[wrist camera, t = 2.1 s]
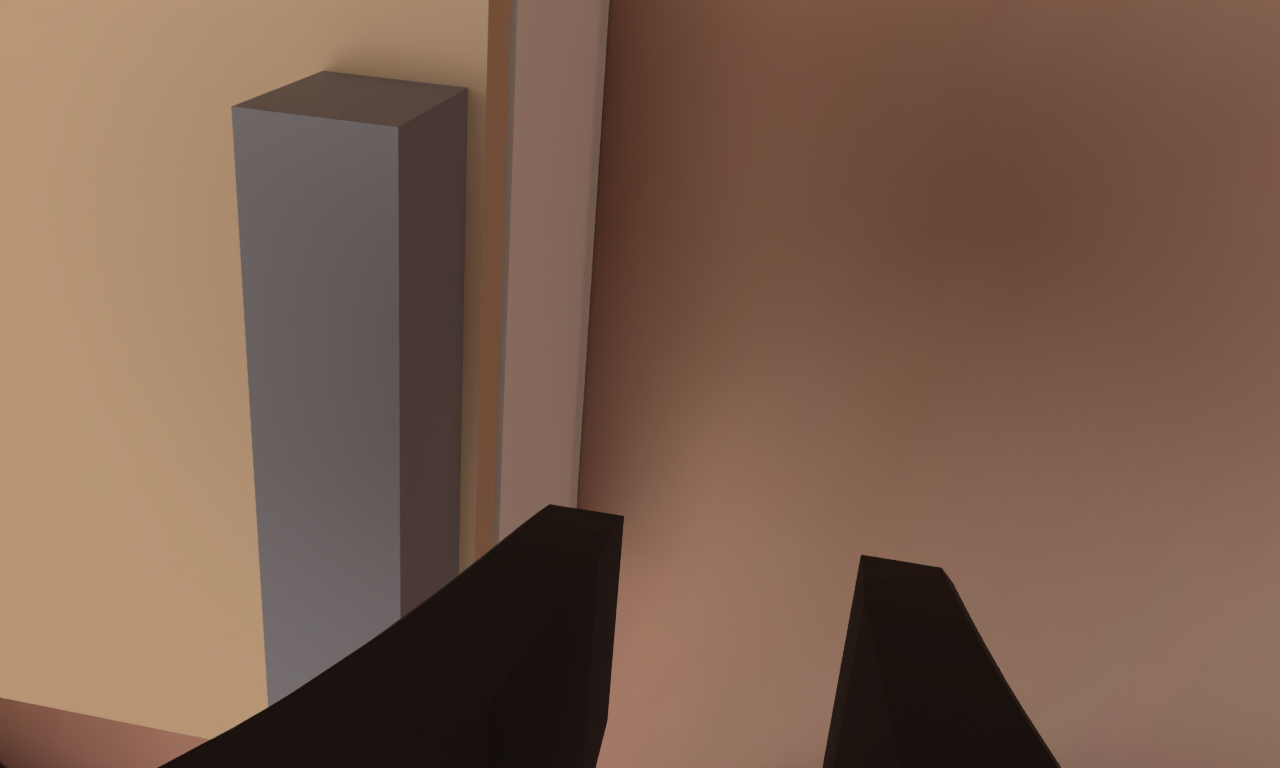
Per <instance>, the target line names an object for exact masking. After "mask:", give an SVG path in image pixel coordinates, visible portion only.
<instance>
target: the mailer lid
mask: <svg viewBox="0 0 1280 768" xmlns="http://www.w3.org/2000/svg"><path fill="white" fill-rule="evenodd" d="M510 3H511V0H0V698H5V699H10V700H15V701H20V702H25V703H30V704H35V705H40V706H45V707H50V708H55V709H60V710H65V711H70V712H75V713H80V714H85V715H90V716H95V717H100V718H105V719H110V720H115V721H120V722H125V723H130V724H135V725H140V726H145V727H150V728H155V729H160V730H165V731H170V732H175V733H180V734H185V735H190V736H195V737H200V738H205V739H210V740H211V739H213V738H214V737H216V736H218V735H220V734H222V733H224V732H226V731H228V730H229V729H231V728H233V727H235V726H236V725H238V724H240V723H242V722H243V721H245V720H247V719H249V718H250V717H252V716H254V715H256V714H257V713H259V712H261V711H263V710H264V709H266V708H268V707H269V706H271V705H273V704H274V703H276V702H278V701H279V700H281V699H283V698H284V697H286V696H287V695H289V694H290V693H292V692H293V691H295V690H296V689H298V688H299V687H301V686H303V685H304V684H306V683H307V682H309V681H310V680H312V679H313V678H315V677H316V676H318V675H319V674H321V673H322V672H324V671H325V670H327V669H328V668H330V667H331V666H333V665H334V664H336V663H337V662H339V661H340V660H342V659H343V658H345V657H346V656H348V655H349V654H351V653H352V652H354V651H355V650H357V649H358V648H360V647H361V646H363V645H364V644H366V643H367V642H369V641H370V640H372V639H373V638H375V637H376V636H377V635H379V634H380V633H382V632H383V631H384V630H386V629H387V628H388V627H390V626H391V625H392V624H394V623H395V622H397V621H398V620H399V619H401V618H402V617H403V616H405V615H406V614H407V613H409V612H410V611H411V610H413V609H414V608H415V607H417V606H418V605H419V604H421V603H422V602H423V601H425V600H426V599H427V598H429V597H430V596H431V595H433V594H434V593H436V592H437V591H438V590H440V589H441V588H442V587H444V586H445V585H446V584H448V583H449V582H450V581H451V580H453V579H454V578H455V577H456V576H458V575H459V574H460V573H462V572H463V571H464V570H465V569H467V568H468V567H469V566H470V565H472V564H473V563H474V562H476V561H477V560H478V559H479V558H481V557H482V556H483V555H484V554H486V553H487V552H488V551H489V550H491V549H492V548H493V528H494V497H495V466H496V435H497V404H498V373H499V342H500V312H501V281H502V250H503V219H504V188H505V157H506V126H507V95H508V64H509V34H510Z"/></svg>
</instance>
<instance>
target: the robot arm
mask: <svg viewBox="0 0 1280 768" xmlns="http://www.w3.org/2000/svg"><path fill="white" fill-rule="evenodd" d="M623 522H624V516H620V515H614V514H607V513H601V512H595V511H589V510H583V509H577V508H571V507H564V506H558V505H552V504H549V505H547V506H546V507H545V508H543V509H542V510H540V511H539V512H537V513H536V514H535V515H533V516H532V517H531V518H529V519H528V520H527V521H526V522H524V523H523V524H522V525H520V526H519V527H518V528H517V529H515V530H514V531H513V532H512V533H510V534H509V535H508V536H507V537H505V538H504V539H503V540H502V541H500V542H499V543H498V544H497V545H496V546H494V547H493V548H492V549H491V550H489V551H488V552H487V553H486V554H484V555H483V556H482V557H481V558H479V559H478V560H477V561H476V562H474V563H473V564H472V565H470V566H469V567H468V568H467V569H465V570H464V571H463V572H462V573H460V574H459V575H458V576H456V577H455V578H454V579H453V580H451V581H450V582H449V583H448V584H446V585H445V586H444V587H442V588H441V589H440V590H438V591H437V592H436V593H434V594H433V595H431V596H430V597H429V598H427V599H426V600H425V601H423V602H422V603H421V604H419V605H418V606H417V607H415V608H414V609H413V610H411V611H410V612H409V613H407V614H406V615H405V616H403V617H402V618H401V619H399V620H398V621H397V622H395V623H394V624H392V625H391V626H390V627H388V628H387V629H386V630H384V631H383V632H382V633H380V634H379V635H377V636H376V637H375V638H373V639H372V640H370V641H369V642H367V643H366V644H364V645H363V646H361V647H360V648H358V649H357V650H355V651H354V652H352V653H351V654H349V655H348V656H346V657H345V658H343V659H342V660H340V661H339V662H337V663H336V664H334V665H333V666H331V667H330V668H328V669H327V670H325V671H324V672H322V673H321V674H319V675H318V676H316V677H315V678H313V679H312V680H310V681H309V682H307V683H306V684H304V685H303V686H301V687H299V688H298V689H296V690H295V691H293V692H292V693H290V694H289V695H287V696H286V697H284V698H283V699H281V700H279V701H278V702H276V703H274V704H273V705H271V706H269V707H268V708H266V709H264V710H263V711H261V712H259V713H257V714H256V715H254V716H252V717H250V718H249V719H247V720H245V721H243V722H242V723H240V724H238V725H236V726H235V727H233V728H231V729H229V730H228V731H226V732H224V733H222V734H220V735H218V736H216V737H214V738H213V739H211V740H209V741H207V742H205V743H203V744H201V745H200V746H198V747H196V748H194V749H192V750H190V751H188V752H186V753H185V754H183V755H181V756H179V757H177V758H175V759H173V760H171V761H170V762H168V763H166V764H164V765H162V766H160V767H158V768H596V764H597V760H598V756H599V752H600V748H601V744H602V740H603V736H604V732H605V728H606V724H607V719H608V707H609V694H610V682H611V670H612V657H613V645H614V633H615V621H616V608H617V596H618V584H619V571H620V559H621V547H622V535H623ZM823 768H1061V767H1060V765H1059V764H1058V762H1057V761H1056V759H1055V757H1054V756H1053V754H1052V753H1051V751H1050V750H1049V748H1048V747H1047V745H1046V743H1045V742H1044V740H1043V739H1042V737H1041V736H1040V734H1039V733H1038V731H1037V730H1036V728H1035V726H1034V725H1033V723H1032V722H1031V720H1030V719H1029V717H1028V716H1027V714H1026V712H1025V711H1024V709H1023V708H1022V706H1021V704H1020V703H1019V701H1018V699H1017V698H1016V696H1015V695H1014V693H1013V691H1012V690H1011V688H1010V686H1009V685H1008V683H1007V681H1006V680H1005V678H1004V676H1003V674H1002V673H1001V671H1000V669H999V667H998V666H997V664H996V662H995V660H994V659H993V657H992V655H991V653H990V652H989V650H988V648H987V646H986V645H985V643H984V641H983V639H982V637H981V636H980V634H979V632H978V630H977V628H976V626H975V625H974V623H973V621H972V619H971V617H970V615H969V613H968V611H967V609H966V608H965V606H964V604H963V602H962V600H961V598H960V596H959V594H958V592H957V590H956V588H955V586H954V584H953V583H952V581H951V580H950V578H949V577H948V576H947V574H946V573H945V572H944V570H943V569H942V568H939V567H933V566H927V565H921V564H915V563H909V562H903V561H896V560H890V559H884V558H878V557H872V556H866V555H861V558H860V564H859V569H858V575H857V580H856V586H855V591H854V597H853V602H852V608H851V613H850V619H849V624H848V630H847V635H846V641H845V646H844V652H843V657H842V663H841V668H840V674H839V679H838V685H837V690H836V696H835V701H834V707H833V713H832V718H831V724H830V729H829V735H828V740H827V746H826V751H825V757H824V763H823Z"/></svg>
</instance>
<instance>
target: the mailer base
mask: <svg viewBox="0 0 1280 768" xmlns="http://www.w3.org/2000/svg"><path fill="white" fill-rule="evenodd" d="M608 16H609V0H511V3H510V34H509V64H508V95H507V126H506V157H505V188H504V219H503V250H502V281H501V312H500V342H499V373H498V404H497V435H496V466H495V497H494V528H493V547H494V546H496V545H497V544H498V543H499V542H500V541H502V540H503V539H504V538H505V537H507V536H508V535H509V534H510V533H512V532H513V531H514V530H515V529H517V528H518V527H519V526H520V525H522V524H523V523H524V522H526V521H527V520H528V519H529V518H531V517H532V516H533V515H535V514H536V513H537V512H539V511H540V510H542V509H543V508H545V507H546V506H547V505H549V504H552V505H558V506H564V507H571V508H577V494H578V478H579V463H580V447H581V432H582V417H583V401H584V386H585V370H586V355H587V339H588V324H589V309H590V293H591V278H592V262H593V247H594V232H595V216H596V201H597V185H598V170H599V154H600V139H601V124H602V108H603V93H604V77H605V62H606V46H607V31H608Z"/></svg>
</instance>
